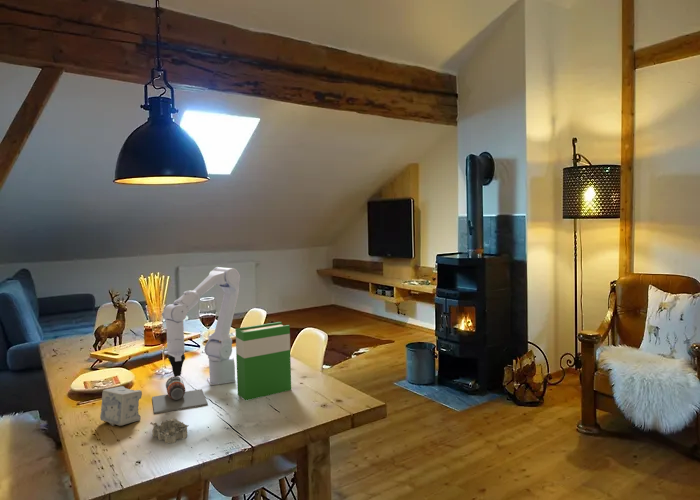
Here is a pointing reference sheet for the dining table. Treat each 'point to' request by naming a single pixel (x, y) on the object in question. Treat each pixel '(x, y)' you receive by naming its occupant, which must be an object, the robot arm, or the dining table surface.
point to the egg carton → (170, 430)
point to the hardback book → (263, 360)
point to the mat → (179, 402)
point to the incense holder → (120, 405)
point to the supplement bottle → (175, 388)
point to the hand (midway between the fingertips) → (177, 375)
